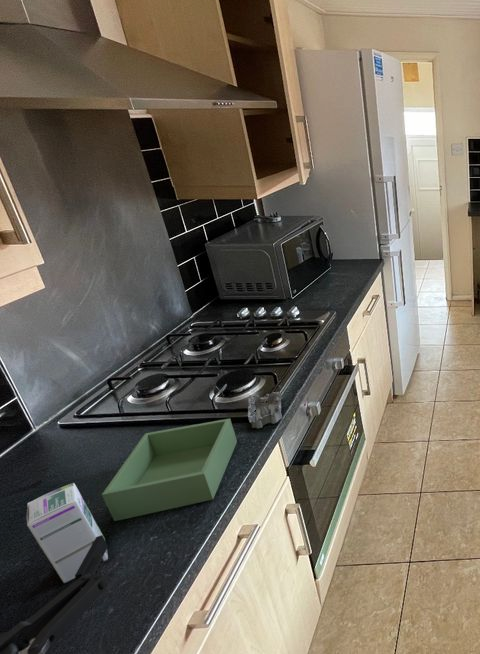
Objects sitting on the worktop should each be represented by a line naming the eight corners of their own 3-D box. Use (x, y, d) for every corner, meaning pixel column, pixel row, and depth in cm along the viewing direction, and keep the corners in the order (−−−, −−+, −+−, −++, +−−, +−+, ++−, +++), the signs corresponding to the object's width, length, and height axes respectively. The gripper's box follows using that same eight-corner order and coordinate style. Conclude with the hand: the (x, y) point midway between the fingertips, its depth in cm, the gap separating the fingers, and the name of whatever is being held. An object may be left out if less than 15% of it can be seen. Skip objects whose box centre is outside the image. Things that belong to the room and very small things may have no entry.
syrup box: (109, 559, 73) (78, 499, 68) (62, 585, 69) (25, 524, 64) (105, 538, 77) (75, 480, 72) (59, 562, 73) (25, 502, 68)
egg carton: (251, 406, 111) (248, 394, 110) (283, 398, 114) (280, 386, 113) (249, 432, 102) (245, 418, 101) (283, 422, 106) (280, 409, 104)
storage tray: (114, 521, 80) (101, 494, 78) (154, 457, 95) (145, 433, 92) (213, 499, 85) (204, 473, 82) (237, 441, 99) (230, 418, 97)
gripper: (-214, 812, 44) (-53, 605, 62) (89, 696, 53) (152, 545, 71) (-261, 777, 41) (-78, 572, 60) (66, 661, 50) (137, 513, 68)
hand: (47, 557), depth 65 cm, fingers open, 13 cm apart
